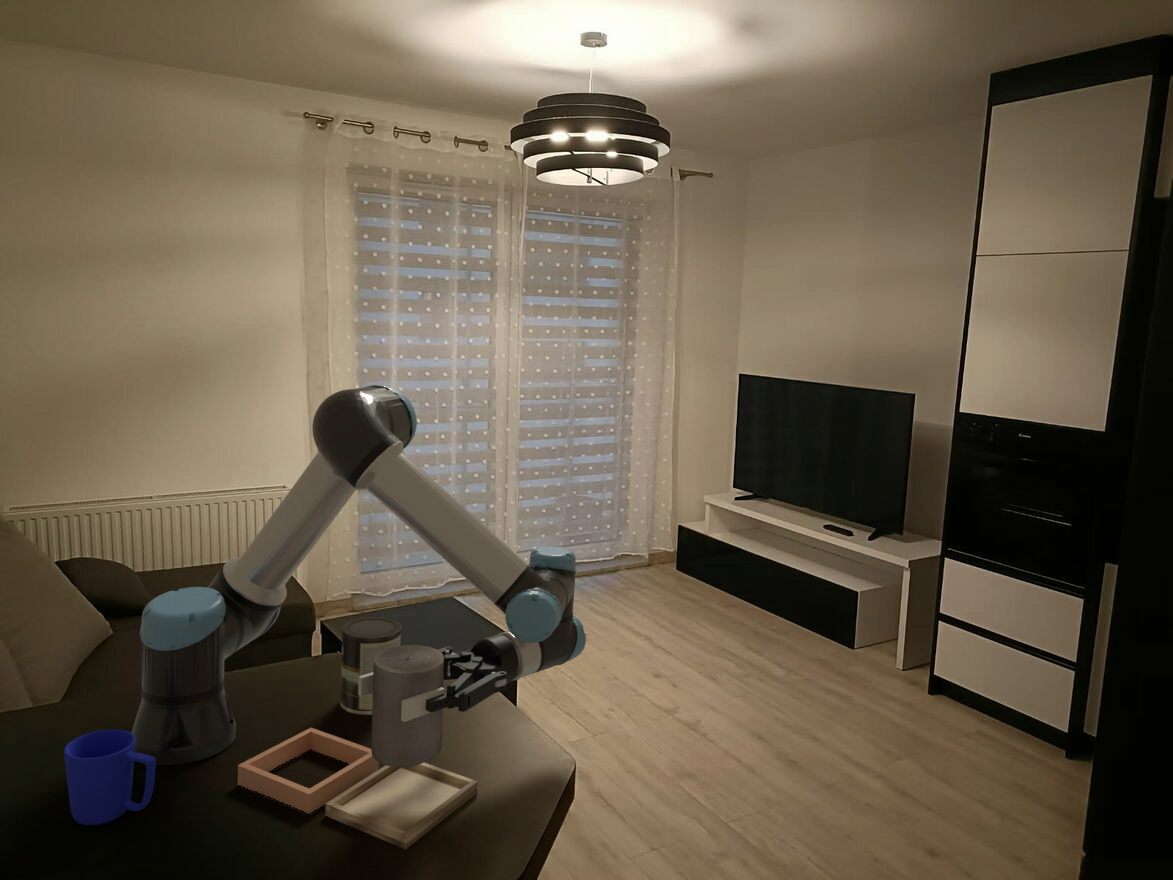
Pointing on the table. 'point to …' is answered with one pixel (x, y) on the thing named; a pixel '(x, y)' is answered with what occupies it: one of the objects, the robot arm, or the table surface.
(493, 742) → the table surface
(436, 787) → the tray
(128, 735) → the mug
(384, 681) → the pillar candle
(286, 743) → the holder
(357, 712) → the coffee can
